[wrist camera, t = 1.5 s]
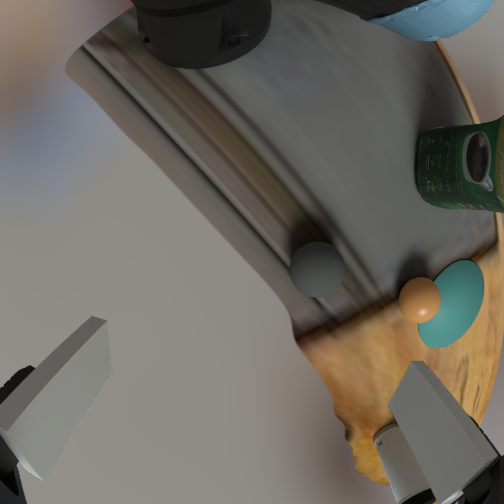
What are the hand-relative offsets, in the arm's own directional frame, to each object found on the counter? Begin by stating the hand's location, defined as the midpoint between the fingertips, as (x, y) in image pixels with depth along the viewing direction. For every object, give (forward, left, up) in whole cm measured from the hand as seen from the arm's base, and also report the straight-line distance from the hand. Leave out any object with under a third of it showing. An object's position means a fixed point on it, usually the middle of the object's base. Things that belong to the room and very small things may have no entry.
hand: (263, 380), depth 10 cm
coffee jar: (-15, +19, -20) cm, 32 cm away
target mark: (+2, +30, -20) cm, 36 cm away
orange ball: (+1, +20, -17) cm, 26 cm away
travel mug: (+29, +31, -20) cm, 47 cm away
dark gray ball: (0, +6, -17) cm, 18 cm away
